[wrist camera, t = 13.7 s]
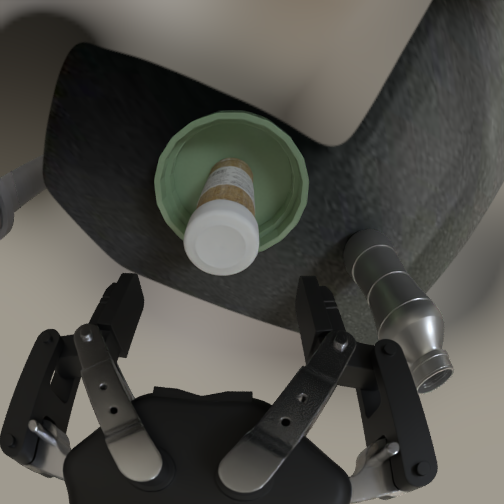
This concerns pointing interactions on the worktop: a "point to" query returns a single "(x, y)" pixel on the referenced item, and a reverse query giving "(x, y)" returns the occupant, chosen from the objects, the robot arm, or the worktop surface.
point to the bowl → (241, 147)
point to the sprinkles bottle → (224, 221)
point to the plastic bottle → (399, 307)
